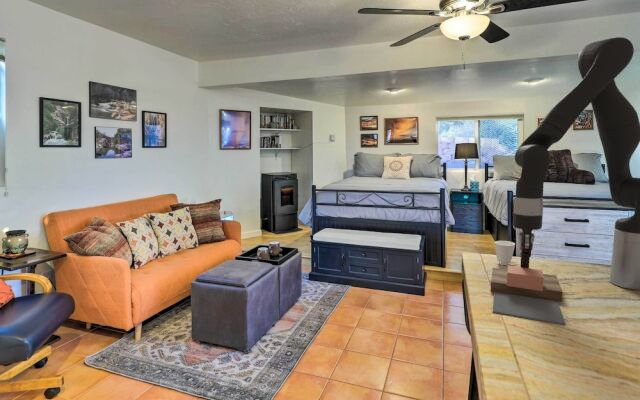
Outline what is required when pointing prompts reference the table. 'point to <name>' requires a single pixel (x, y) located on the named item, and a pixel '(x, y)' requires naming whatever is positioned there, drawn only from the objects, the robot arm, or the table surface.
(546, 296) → the platform
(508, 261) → the cup
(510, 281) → the block
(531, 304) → the mat
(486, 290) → the table surface
